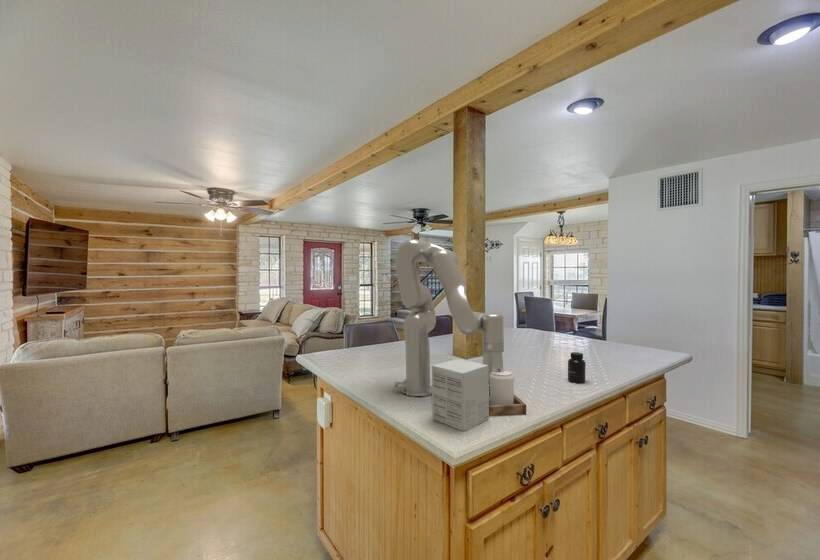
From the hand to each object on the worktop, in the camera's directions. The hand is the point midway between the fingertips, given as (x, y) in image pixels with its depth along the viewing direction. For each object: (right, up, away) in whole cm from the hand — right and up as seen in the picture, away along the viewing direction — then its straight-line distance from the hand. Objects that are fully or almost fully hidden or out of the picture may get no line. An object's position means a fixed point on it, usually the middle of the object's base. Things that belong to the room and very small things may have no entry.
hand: (493, 397), depth 133 cm
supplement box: (-14, -2, -16) cm, 22 cm away
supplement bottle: (+40, 0, +21) cm, 45 cm away
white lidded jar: (+1, -2, -6) cm, 6 cm away
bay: (0, -1, -7) cm, 8 cm away
